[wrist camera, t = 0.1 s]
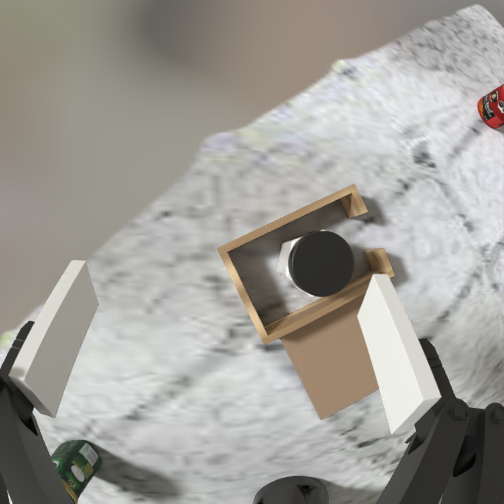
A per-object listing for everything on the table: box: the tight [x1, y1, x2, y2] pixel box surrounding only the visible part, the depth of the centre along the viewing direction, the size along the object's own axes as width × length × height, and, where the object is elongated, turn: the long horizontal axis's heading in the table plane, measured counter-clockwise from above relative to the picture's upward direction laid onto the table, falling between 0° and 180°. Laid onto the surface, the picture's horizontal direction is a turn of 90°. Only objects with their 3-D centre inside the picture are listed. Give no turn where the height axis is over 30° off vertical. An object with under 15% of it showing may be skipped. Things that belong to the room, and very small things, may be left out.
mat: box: [280, 292, 379, 420], centre depth 51 cm, size 18×18×1 cm
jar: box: [277, 229, 354, 297], centre depth 44 cm, size 9×8×12 cm
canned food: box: [478, 84, 504, 128], centre depth 48 cm, size 8×8×11 cm
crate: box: [217, 184, 395, 345], centre depth 47 cm, size 15×22×6 cm
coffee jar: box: [51, 440, 101, 504], centre depth 39 cm, size 10×8×19 cm
